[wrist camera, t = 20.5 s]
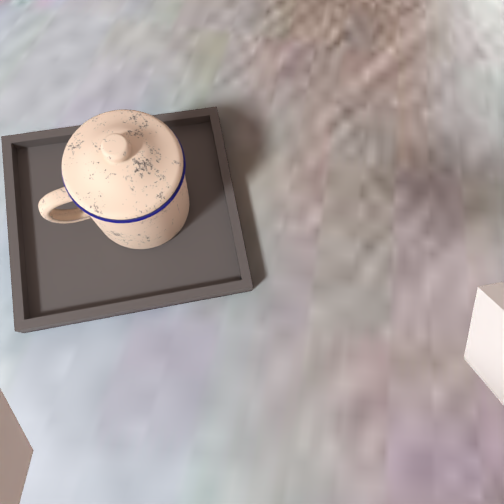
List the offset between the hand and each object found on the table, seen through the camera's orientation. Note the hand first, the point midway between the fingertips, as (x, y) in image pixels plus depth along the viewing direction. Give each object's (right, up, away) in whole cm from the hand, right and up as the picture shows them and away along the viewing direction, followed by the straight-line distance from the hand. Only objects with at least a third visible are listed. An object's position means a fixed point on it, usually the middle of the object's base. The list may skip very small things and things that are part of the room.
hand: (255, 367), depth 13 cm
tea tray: (-12, +6, +30) cm, 33 cm away
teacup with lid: (-11, +7, +29) cm, 32 cm away
